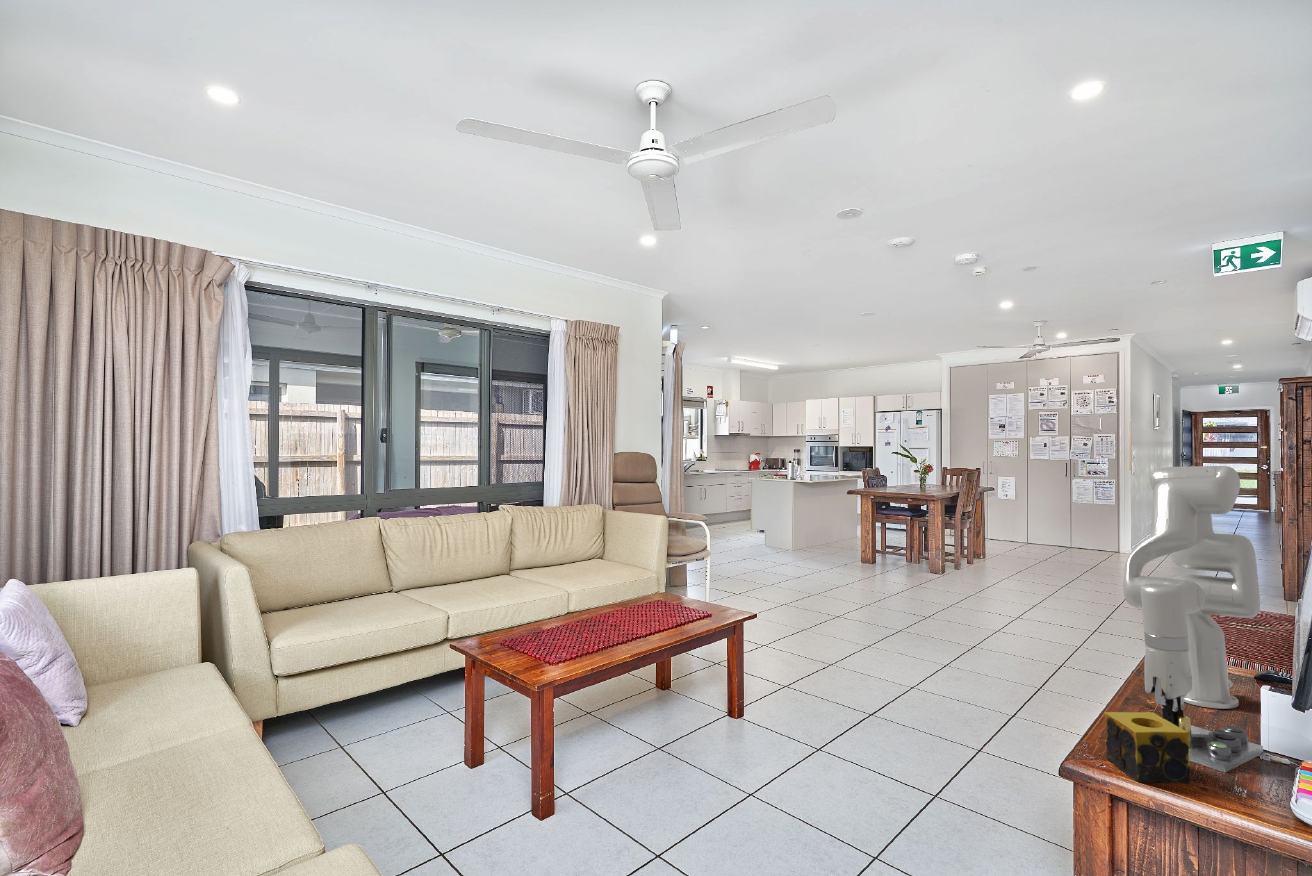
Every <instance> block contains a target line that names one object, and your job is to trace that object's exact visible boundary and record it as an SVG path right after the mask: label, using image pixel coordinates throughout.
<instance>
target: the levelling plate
mask: <svg viewBox="0 0 1312 876" xmlns="http://www.w3.org/2000/svg"><path fill="white" fill-rule="evenodd" d="M1213 731H1214V730H1210V729H1205V728H1202V727H1198V726H1195V725H1193V724H1191V733H1192V734H1205V735H1209V733H1210V732H1213ZM1221 731H1226V732H1230V733H1233V734H1234V735H1235V736H1237V737H1238V738H1240V740H1241V751H1239V752H1231V748H1230V747H1229V746H1227V745H1225V744H1223V743H1220V742H1210V743H1207V747H1189V753H1188V755H1189V762H1192V763H1196V764H1199V765H1201V766H1205V767H1208V768H1211V769H1214V770H1217V771H1219V772H1223V773H1225V774H1226V773H1227V772H1229V771H1231V770H1234V769H1235V768H1238V767H1239V766H1242V765H1243V764H1245V763H1247V762H1249V761H1251V760H1253V759H1255V758H1257V757H1258V756H1260V754H1261V753H1262V752H1263V753H1264V746H1263V745H1260V744H1257V743H1254V742H1251V741H1248V732H1247V730H1245V729H1243V728H1240V727H1238V726H1232V725H1224V726H1222V727H1221ZM1261 755H1262V754H1261Z"/></svg>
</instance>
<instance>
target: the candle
mask: <svg viewBox="0 0 1312 876" xmlns="http://www.w3.org/2000/svg"><path fill="white" fill-rule="evenodd" d="M1104 719H1105V726H1106V731H1107V734H1106V740H1105V746H1106V749H1105V750H1106V752H1105V753H1106V760H1108V761H1109V763H1112V764H1113V765H1114V767H1116V768H1118V769H1119V770H1120V771H1122V772H1123V773H1125V775H1128V776H1129V777H1131V779H1133V780H1134V781H1135V782H1137V783H1141V784H1142V783H1143V784H1145V783H1146V784H1147V783H1148V784H1150V783H1151V784H1153V783H1154V784H1155V783H1156V784H1157V783H1158V784H1178V782H1179V784H1180V783H1181V784H1191V782H1192V778H1191V776H1192V775H1191V774H1192V772H1191V768H1190V761H1189V755H1188V753H1189V741H1188V732H1187V731H1185V730H1183V729H1181V728H1180V727H1178V726H1176V725H1174V724H1173V723H1171V722H1169V721H1167V720H1165V719H1163V716H1160V715H1158V714H1157V713H1155V712H1151V711H1147V712H1145V711H1144V712H1137V711H1135V712H1134V711H1133V712H1131V711H1129V712H1128V711H1127V712H1126V711H1125V712H1123V711H1122V712H1121V711H1106V712H1104Z"/></svg>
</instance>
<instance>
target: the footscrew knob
mask: <svg viewBox="0 0 1312 876" xmlns="http://www.w3.org/2000/svg"><path fill="white" fill-rule="evenodd" d="M1178 722H1179V727H1180V728H1181V729H1183V730H1185V731H1187V732H1188V741H1189V747H1207V743H1210V742H1220V743H1223V744H1225V745H1227V746H1229V747H1230V748H1231V752H1239V751H1241V740H1240V738H1238V737H1237V736H1235V735H1234V734H1233V733H1230V732H1226V731H1222V730H1220V729H1219V730H1216V729H1215V730H1212V731H1213V732H1210V733H1209V735H1205V734H1192V733H1191V725H1192V724H1191V717H1190V716H1189V715H1184V714H1183V715H1178Z"/></svg>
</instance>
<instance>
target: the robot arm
mask: <svg viewBox="0 0 1312 876" xmlns="http://www.w3.org/2000/svg"><path fill="white" fill-rule="evenodd" d="M1149 484H1150V486H1151V489H1152V504H1151V505H1152V507H1151V520H1150V521H1151V522H1150V534H1149V536H1148V537H1147V538H1145V539H1144V540H1143V541H1141V542H1140V543H1139V544H1138V545H1136V546H1135V547H1134V548H1133V550H1132V551H1131V552H1130V553H1129V555H1128V557H1126V561H1125V564H1124V574H1123V583H1122V584H1123V585H1122V590H1123V591H1122V593H1123V596H1124V599H1125V601H1126V603H1127V604H1128V606H1129V605H1130V606H1131V607H1133V608H1137V609H1141V610H1142V622H1143V623H1142V624H1143V635H1144V643H1145V644H1144V646H1145V652H1144V663H1143V664H1144V669H1143V670H1144V674H1143V675H1144V690H1145V692H1146V694H1148V695H1153V694H1154V703H1155V704H1157V705H1160V708H1161V714H1162V718H1163V719H1165V720H1167V721H1169V722H1171V723H1173V724H1174V725H1176V726H1178V727H1179V722H1178V715H1184V707H1185V705H1184V704H1185V703H1186V704H1189V705H1193V706H1197V707H1202V708H1210V709H1218V710H1219V709H1221V710H1222V709H1223V710H1225V709H1227V710H1228V709H1235V708H1237V707H1239V705H1240V703H1239V699H1238V698H1237V697H1235V696H1234V695H1231V694H1230V688H1231V687H1233V686H1234V683H1233V681H1231V680H1230V679H1229V673H1228V662H1227V661H1228V660H1227V649H1226V639H1225V634H1224V633H1225V632H1224V630H1223V629H1222V627H1221V626H1220V624H1218V622H1216V620H1214V619H1213V617H1212V616H1222V617H1232V618H1240V619H1242V618H1243V619H1250V618H1251V619H1253V618H1255V617H1257V616H1258V615H1259V612H1260V609H1261V599H1260V597H1261V596H1260V586H1259V585H1260V584H1259V577H1258V576H1259V575H1258V574H1259V573H1258V567H1257V566H1258V565H1257V558H1256V552H1255V548H1254V545H1253V543H1252V541H1251V540H1250V539H1249V538H1248V537H1246V536H1244V535H1240V534H1235V533H1234V534H1231V533H1216V532H1214V530H1213V516H1212V515H1226V514H1227V513H1230V512H1231V511H1232V509H1233V508H1234V505H1235V503H1236V502H1237V498H1238V496H1239V493H1240V489H1241V480H1240V476H1239V473H1238V472H1237V470H1236V469H1235V468H1233V467H1231V466H1227V465H1203V466H1202V465H1201V466H1198V465H1197V466H1193V465H1189V466H1183V465H1182V466H1169V467H1168V466H1166V467H1159V468H1157V469H1154V470H1152V471H1151V472H1150V475H1149ZM1167 555H1172V559H1173V562H1174V564H1175V565H1176V566H1177V567H1179V568H1182V569H1187V570H1196V571H1205V572H1207V571H1208V572H1219V573H1220V572H1221V573H1229V575H1231V576H1232V577H1223V576H1213V575H1202V574H1201V575H1199V574H1179V575H1175V576H1173V577H1171V578H1169V577H1168V578H1167V577H1162V576H1161V577H1159V576H1158V577H1157V576H1147V575H1146V576H1145V575H1142V571H1143V569H1144V568H1145V566H1146V565H1148V564H1149V563H1150V562H1152V561H1154V560H1156V559H1158V558H1161V557H1165V556H1167Z"/></svg>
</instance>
